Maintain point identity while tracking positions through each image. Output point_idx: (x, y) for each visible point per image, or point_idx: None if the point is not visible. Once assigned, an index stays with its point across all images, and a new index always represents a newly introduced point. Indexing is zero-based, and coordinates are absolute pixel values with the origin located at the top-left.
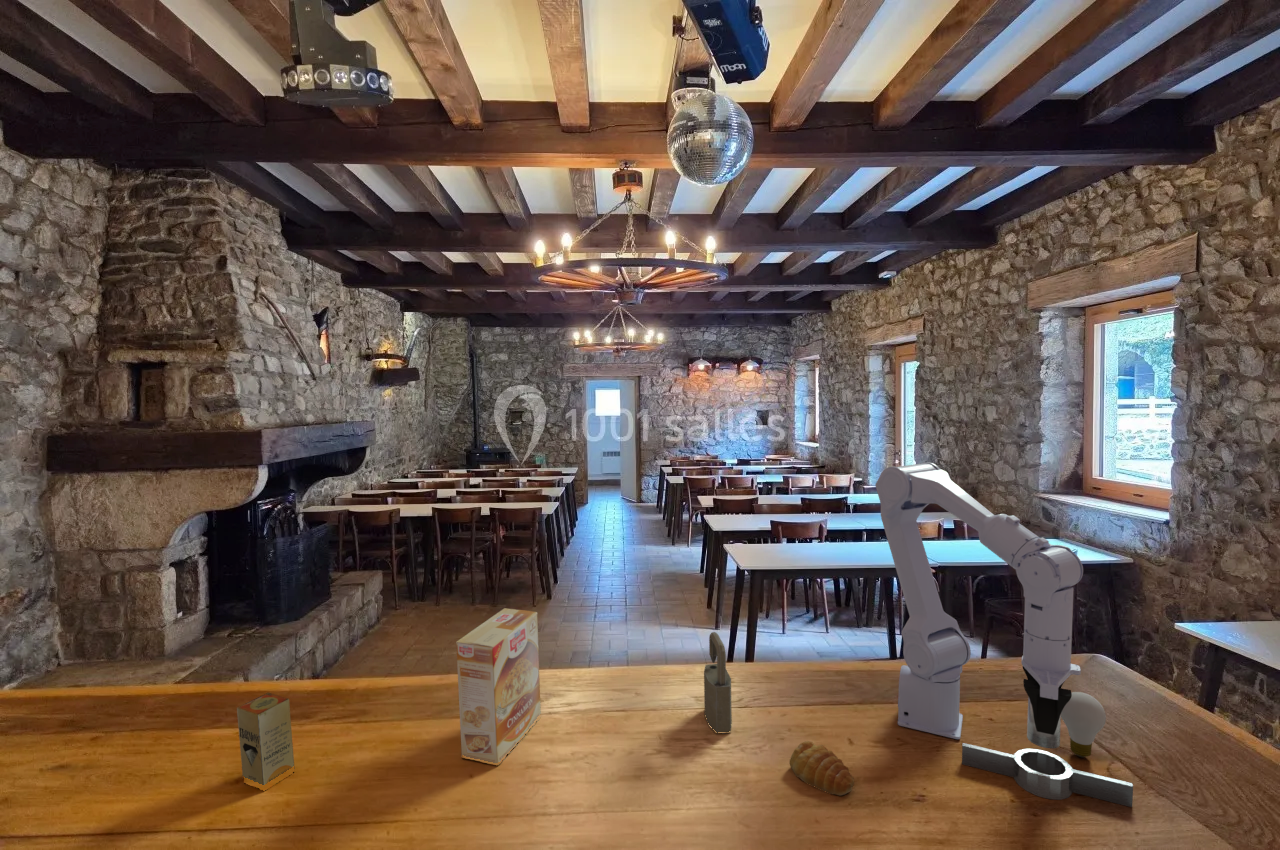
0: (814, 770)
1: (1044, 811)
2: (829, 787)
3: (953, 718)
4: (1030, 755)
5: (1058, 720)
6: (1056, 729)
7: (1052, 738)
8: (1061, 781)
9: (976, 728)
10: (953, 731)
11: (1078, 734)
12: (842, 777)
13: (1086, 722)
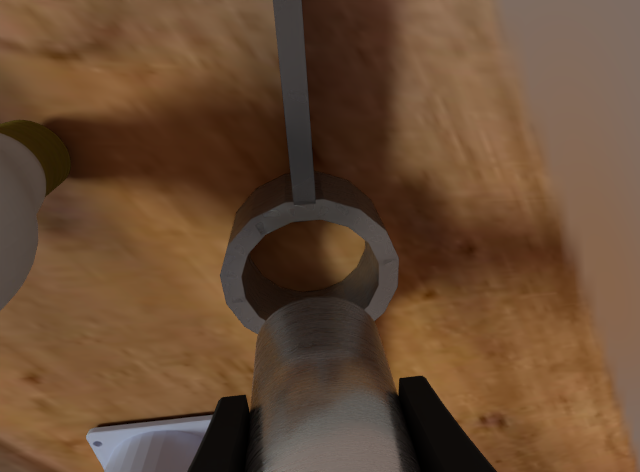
0: None
1: (445, 231)
2: None
3: (186, 468)
4: (259, 306)
5: (479, 453)
6: (377, 377)
7: (381, 351)
8: (382, 225)
9: (122, 395)
10: (200, 433)
11: (36, 202)
12: None
13: (4, 213)
